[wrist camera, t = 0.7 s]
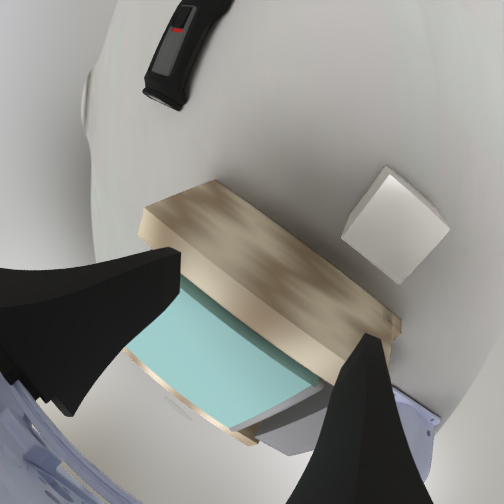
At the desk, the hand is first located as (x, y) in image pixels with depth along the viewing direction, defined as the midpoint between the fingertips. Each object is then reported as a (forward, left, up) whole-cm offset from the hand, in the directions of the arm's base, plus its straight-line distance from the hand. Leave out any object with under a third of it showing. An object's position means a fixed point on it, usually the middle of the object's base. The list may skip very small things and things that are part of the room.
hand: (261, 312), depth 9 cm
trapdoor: (-2, +10, -5) cm, 12 cm away
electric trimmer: (+15, -9, -10) cm, 20 cm away
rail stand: (-1, +10, -9) cm, 14 cm away
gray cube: (-3, -4, -10) cm, 11 cm away
